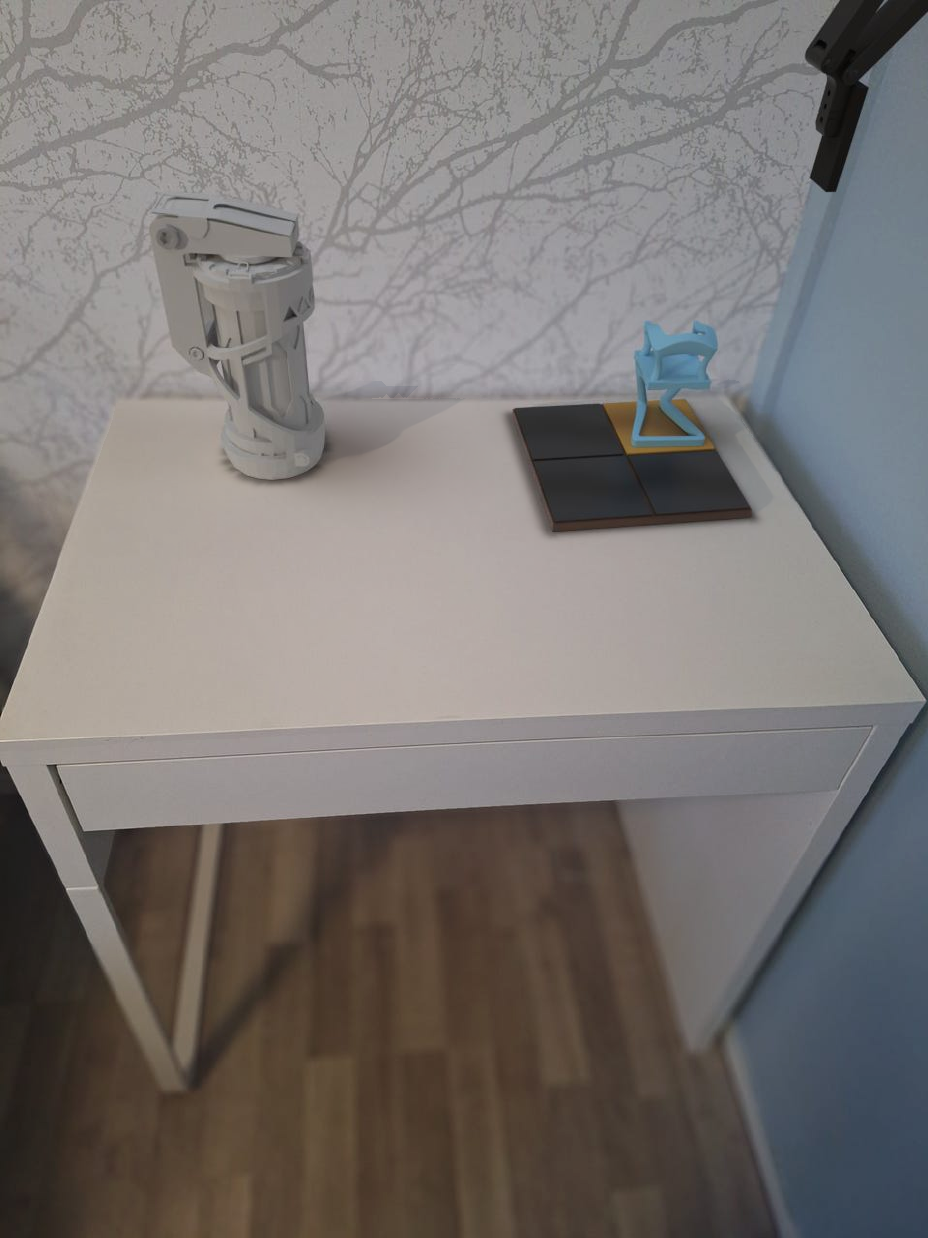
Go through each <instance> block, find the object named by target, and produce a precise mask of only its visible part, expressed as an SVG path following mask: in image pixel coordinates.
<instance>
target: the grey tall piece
mask: <svg viewBox="0 0 928 1238" xmlns="http://www.w3.org/2000/svg"><path fill="white" fill-rule="evenodd" d="M164 196H166V197H167V198H166V199H165V200H164V201H163V202H162V203H161V201H162V199H163V198H164ZM160 203H161V206H160V207H159V208H157V207H158V206H159V205H160ZM149 212H150V214H155V215H154V217H153V218H152V220H151V222H150V224H149V225H148V233H149V237H150V243H151V248H152V252H153V259H154V262H155V268H156V273H157V278H158V282H159V287H160V292H161V297H162V301H163V307H164V311H165V316H166V321H167V326H168V331H169V336H170V341H171V345H172V348H173V349H175V351H176V352H177V353H178V354H179V355H180V356H181V357H182V358H183V359H184V360H185V361H186V362H187V363H188V364H189V365H191V366H192V368H194V369H195V371H196V372H198V373H200V374H202V375H204V376H207V377H209V378H211V379H212V382H213V384H214V386H215V388H216V389H217V391H218V393H219V394H220V396H222V398H223V399H224V400H225V402H226V403H227V405H228V406H227V407H228V409H227V411H226V412H225V415H224V425H223V427H222V429H221V433H220V437H221V443H222V446H223V449H224V452H225V454H226V456H227V458H228V460H229V461H230V463H231V464H232V467H233V468H234V469H235V470H237V471H239V472H240V473H242V474H243V475H244V476H248V477H251V478H255V479H259V480H270V481H274V480H283V479H290V478H294V477H297V476H300V475H302V474H305V473H306V472H308V471H309V470H311V469H312V468H314V467H315V466H316V465H318V463H319V461H321V458H322V456H323V452H324V448H325V441H326V439H325V438H326V423H325V412H324V409H323V407H322V406H321V404H320V403H319V402H318V401H317V400H316V398H315V397H314V395H312V393H311V391H310V380H309V371H308V370H309V368H308V359H307V349H306V338H305V337H306V336H305V326H304V322H305V321H307V320H309V318H310V317H311V316H312V315H313V313H314V311H315V307H316V301H315V299H316V298H315V289H314V274H313V263H312V251H311V250H310V248H308V247H307V246H306V245H305V244H304V243H302V242H301V241H300V240H299V237H300V226H299V217H298V213H295V212H291V211H287V210H284V209H278V208H275V207H271V206H267V205H263V204H259V203H254V202H250V201H247V200H243V199H238V198H232V199H231V198H227V197H226V198H221V196H220V195H219V194H210V193H201V192H184V191H174V190H173V191H172V190H164V189H163V190H162V192H161V194H160V195H159V196H158V198H157V200H156V202H155V203H154V205H153V206H152V208H151V210H149ZM219 363H221V370H222V374H221V371H219V368H218V367H217V365H218V364H219ZM222 375H223V376H222Z"/></svg>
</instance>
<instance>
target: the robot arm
mask: <svg viewBox="0 0 928 1238" xmlns="http://www.w3.org/2000/svg"><path fill="white" fill-rule="evenodd" d="M884 1H885V0H839V1H838V2H837V3H836V5H835V6H834V9H832V11H831V12H830V14H829V15H828V17H827V18H826V19H825V21H824V22H823V24H822V26H821V27H820V29H819V30H818V31H817V33H816V34H815V36H814V38H813V39H812V41H811V42H810V43H809V45H808V47H807V48H806V50H805V53H804V60H805V61H806V63H808V64H809V65H810V66H812V67H814V68H815V69H816V70H817V71H819V72H821V73H822V74H824V75H826V76H825V77H826V83H825V85H824V86H825V87H824V90H823V94H822V97H821V100H820V103H819V105H820V106H819V108H818V110H817V114H816V118H815V121H814V124H815V130H816V131H817V132H818V134H820V135H821V136H820V137H821V138H820V141H819V145H818V147H817V151H816V154H815V158H814V161H813V165H812V168H811V171H810V175H809V179H810V180H812V182H814V183H815V184H816V185H817V186H818V187H819V188H821V190H823V192H824V193H836V192H837V190H838V187H839V184H840V181H841V178H842V175H843V170H844V168H845V165H846V162H847V158H848V156H849V152H850V149H851V146H852V142H853V140H854V137H855V133H856V130H857V127H858V124H859V120H860V118H861V115H862V111H863V108H864V105H865V103H866V98H867V94H868V92H869V89H870V87H869V86H868V85H866V84H865V83H863V82H861V81H860V80H861V79H862V78H863V77H864V76H865V75H866V74H867V73H868V72H869V71H870V70H871V69H872V68H873V67H874V66H875V65H876V64H877V63H878V62H879V61H880V60H881V59H882V58H883V57H884V56H885V55H886V54H888V52H889V51H890V50H891V49H892V48H893V47H894V46H895V45H896V44H897V43H899V41H900V40H901V39H902V38H904V36H905V35H906V34H907V33H908V32H909V31H911V29H912V28H913V27H915V25H916V24H917V23H919V21H921V19H922V18H923V17H924V16H926V14H928V0H886V1H885V2H884ZM883 3H884V4H883Z"/></svg>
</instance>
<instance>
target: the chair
mask: <svg viewBox="0 0 928 1238" xmlns="http://www.w3.org/2000/svg"><path fill="white" fill-rule="evenodd" d="M643 337H644V340H643V341H644V342H643V345H642V346H643V347H642V348H641V349H635V351H634V354H633V359H634V364H635V378H636V389H637V410H636V417H635V422H634V427H633V431H632V437H631V444H632V446H634V447H674V446H702V445H703V443H704V440H705V436H704V435H703V433H702V432H701V431H700V430H699V429H698V428H697V427H696V426H695V425H694V424H693V423H692V422H691V421H690V420H688V419H687V418H686V417H685V416H684V415H683V414H682V413H681V412H680V411H679V410H678V409H677V408H676V407H675V406H674V405H673V404H672V403H671V402H670V401H671V400H674V398H675V396H676V395H678V393H679V392H681V390H682V389H683V390H684V389H685V390H697V391H703V390H704V391H707V390H708V391H710V389H711V386H712V380H711V379H710V377H709V374H708V373H707V368H708V365H709V363H710V361H712V359H713V357H714V356H715V354H716V353H717V351H718V349H719V343H718V335H717V333H716V331H715V329H714V328H713V327H712V326H711V325H708V324H705V323H701V322H700V321H699V320H694V321H693V325H692V331H691V332H682V333H677V334H667V333H665V331H664V330H663V329H662V326H661V325H660V324H659V323H652V322H651V321H650V320H645V321H644V325H643ZM699 356H700V357H703V358H702V360H700V357H699ZM665 390H666V391H665ZM647 391H665V392H664V393H663V394H662V396H660V399H659V400H660V402H659V407H660V408H661V409H662V411H663V412H664V413H665V414H666V415H667V416H668V417H670V418H671V419H672V420H673V421H674V422H675V423H676V424H677V425H678V426H679V427H681V428H682V429H683V430H684V431H685V432H686V433H687V434H688V435H690V436H639V434H640V431H641V427H642V424H643V420H644V416H645V412H646V407H647V401H648V397H647Z"/></svg>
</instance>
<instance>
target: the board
mask: <svg viewBox="0 0 928 1238" xmlns="http://www.w3.org/2000/svg"><path fill="white" fill-rule="evenodd" d="M637 401H638V400H637ZM637 401H636V400H635V401H620V402H619V401H617V402H603V403H582V404H581V403H579V404H563V405H562V404H561V405H544V406H525V407H515V408H512V413H511V418H512V419H513V423H514V426H515V429H516V431H517V433H518V436H519V439H520V443H521V445H522V448H523V452H524V455H525V457H526V460H527V462H528V465H529V469H530V472H531V475H532V477H533V480H534V483H535V486H536V489H537V492H538V495H539V497H540V500H541V503H542V506H543V508H544V511H545V514H546V518H547V520H548V523H549V527H550V528H551V531H552V532H565V531H580V530H594V529H608V528H622V527H623V528H624V527H637V526H650V525H664V524H678V523H692V522H693V523H694V522H704V521H705V522H707V521H718V520H733V519H745V518H746V519H747V518H751V516H752V515H751V514H752V511H753V509H752V507H751V505H750V504H749V502H748V500H747V499H746V497H745V496H744V494H743V492H742V490H741V489H740V487H739V486H738V484H737V482H736V480H735V479H734V477H733V475H732V474H731V472H730V470H729V469H728V467H727V465H726V464H725V462H724V460H723V458H722V457H721V455H720V454H719V452H718V451H717V449H716V447H715V445H714V444H713V442H712V440H711V439H710V437H709V435H708V434H707V431H706V430H705V429H704V427H703V425H702V423H701V422H700V421H699V419H698V417H697V415H696V414H695V412H694V411H693V409H692V407H691V405H690V403H689V402H688V401H687V399H686V398H673V399H672V400H671V401H670V402H671V403H672V404H673V405H674V406H675V407H676V408H677V409H678V410H679V411H680V412H681V413H682V414H683V415H684V416H685V417H686V418H687V419H688V420H690V421H691V422H692V423H693V424H694V425H695V426H696V427H697V428H698V429H699V430H700V431H701V432H702V433H703V435H704V436H705V440H704V443H703V445H702V446H674V447H634V446H632V444H631V437H632V431H633V427H634V422H635V417H636V410H637ZM659 402H660V399H659V400H655V399H654V400H647V407H646V412H645V416H644V420H643V424H642V427H641V431H640V434H639V436H690V435H688V434H687V433H686V432H685V431H684V430H683V429H682V428H681V427H679V426H678V425H677V424H676V423H675V422H674V421H673V420H672V419H671V418H670V417H668V416H667V415H666V414H665V413H664V412H663V411H662V409H661V408H660V407H659Z"/></svg>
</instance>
